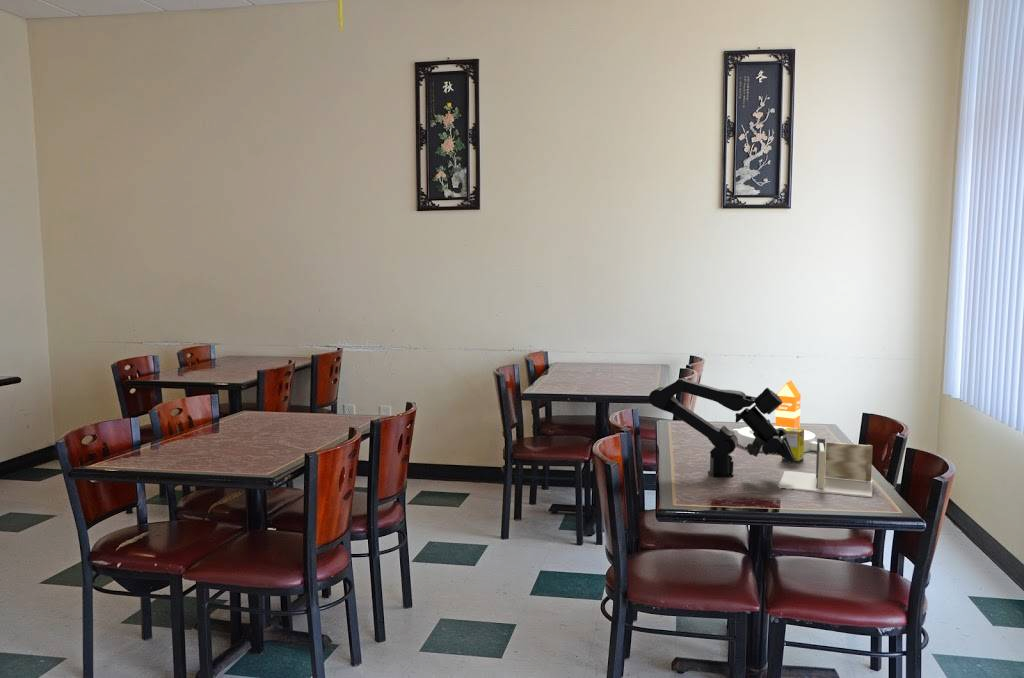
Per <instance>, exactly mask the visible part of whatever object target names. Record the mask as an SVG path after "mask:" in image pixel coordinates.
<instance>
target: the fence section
mask: <svg viewBox="0 0 1024 678" xmlns="http://www.w3.org/2000/svg"><path fill="white" fill-rule="evenodd" d="M816 442H817V451H816V460H815V461H816V462H815V463H816V464H815V465H816V467H815V474H816V478H818V464H819V443H823V444H824V451H826V455H825V477H828V478H838V479H849V480H859V481H867V482H871V479H872V470H873V469H872V466H873V465H872V464H873V447H874V445H872V444H857V443H845V442H835V441H834V442H833V441H832V442H831V441H826V439H825V438H823V437H822V438H821V437H817V438H816Z"/></svg>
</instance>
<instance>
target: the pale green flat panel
mask: <svg viewBox="0 0 1024 678" xmlns="http://www.w3.org/2000/svg"><path fill="white" fill-rule="evenodd" d="M825 466H826V450H825V451H824V444H823V443H819V464H818V488H824V482H825Z"/></svg>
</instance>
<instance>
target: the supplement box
mask: <svg viewBox="0 0 1024 678" xmlns="http://www.w3.org/2000/svg"><path fill="white" fill-rule="evenodd" d="M784 430H785V431H786V432H787V433H786V434H785V435H783V436H782V439H783V438H784V437H787V440H788V442H789V445H790V448H791V450H792V453H793V456H794V458H795V460H794V462H793V463H798V464H799V463H801V462H803V461H804V459H805V458H804V457H805V456H804V453H805V452H804V430H805V429H803V428H802V429H801V428H799V429H795V428H786V429H784ZM781 462H789V461H788V460H786V459H785V458H783V457H782V456H781ZM789 463H790V462H789Z"/></svg>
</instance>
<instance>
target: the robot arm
mask: <svg viewBox="0 0 1024 678" xmlns="http://www.w3.org/2000/svg"><path fill="white" fill-rule="evenodd" d="M680 392H681V393H686V394H690V395H692V396H696V397H699V398H703V399H706V400H710V401H713V402H716V403H718V404H720V405H721V406H722V407H724V408H726V409H728V410H731V411H733V412H736V413H735V414H734V415H735V423H737V424H738V423H739V422H740V421H741V420H742V421H743V423H745V424H746V425H747V427H750V429H752V431H753V432H754V433H753V435H754V436H755V439H754V441H753V443H749V444H748V445H747V447H746V448H745V449H746V450H747V453H748V454H749V455H750V456H753V457H756V458H757V457H758V455H759V453H760V452H762V453H763V454H764V455H765V456H768V455H769V454H777V455H779V456H780V457H781V458H782V457H783V458H785V459H786V460H788V461H789V463H791V464H793V463H795V462H794V460H795V458H794V456H793V453H792V450H791V448H790V445H789V442H788V440H787V437H784V438H783V439H782V438H781V437H782V436H783V435H785V434H786V433H787V432H786V431H785V430H784V428H778V429H777V430H776V429H775V428H774V427H773V426H774V425H772V424H771V420H770V419H767V418H766V416H765V415H766V414H767V415H771V414H772V413H773V412H774V411H776V408H778V407H779V406H780V405H781V404H782V403H783V402H782V400H781V399H780V397H779V396H778V395H777V394H778V393H775V392H774V391H773V390H771V389H770V388H769V387H766V388H764V390H763V391H762V392H761V393H760V394H758V395H757V397H756V396H752V395H746V393H745V392H743V391H741V390H735V389H720V388H716V387H713V386H710V385H706V384H702V383H699V382H695V381H691V380H689V379H686V378H683V377H681V378H679V379H677V380H676V381H674V382H673V383H671V384H669V385H667V386H665V387H663V386H661V387H657V388H655V389H653V390H652V391H651V392H649V396H648V400H649V403H650V404H651V406H653V407H655V408H657V409H659V410H662V411H664V412H667V413H670V414H672V415H674V416H675V417H676V418H678V419H680V420H681V421H683V422H684V423H686V425H688V426H690V427H691V428H693V429H694V430H695V431H696V432H697V431H698V432H699V433H700V434H701V435H703V436H704V437H706V438H707V439H708V440H709V441H710V443H711V444H712V445H713V448H712V449H711V450H710V451H709V454H710V455H709V470H708V471H707V473H709V475H711V476H712V475H713V477H714V476H715V477H716V478H722V476H731V477H734V476H735V475H734V460H733V457H732V455H731V454H732V453H733V452H734V451H735V449H737V447H738V445H739V444H738V437H737V436H735V435H734V432H732V430H730V429H729V428H728V427H727V426H725V425H723V426H721V427H717V426H715V425H713V424H711V423H710V422H709V421H707V420H706V419H704V418H703V417H701V416H699V415H698V414H697V413H695V412H694V411H692V410H691V409H689V408H688V407H687V406H685V405H683V404H682V403H681V402H679V400H678V399H677V397H675V395H677V394H679V393H680ZM752 405H753V406H752ZM751 406H752V407H751ZM749 407H751V408H750V409H749ZM741 410H742V411H741ZM740 411H741V412H740ZM761 447H762V451H760V449H761ZM788 461H787V462H788ZM715 477H714V478H715Z"/></svg>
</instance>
